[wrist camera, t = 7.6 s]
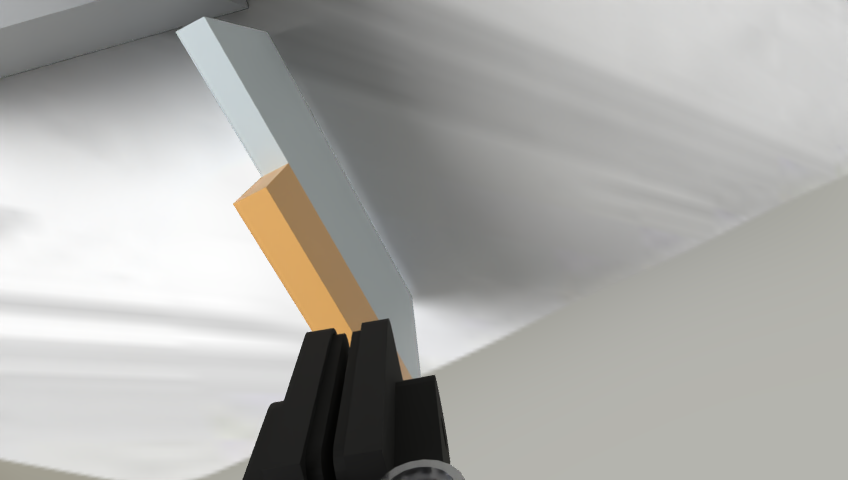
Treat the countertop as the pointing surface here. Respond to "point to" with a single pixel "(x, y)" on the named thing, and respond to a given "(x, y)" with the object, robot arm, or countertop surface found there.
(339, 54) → the countertop surface
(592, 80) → the countertop surface
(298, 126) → the side door
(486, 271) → the countertop surface
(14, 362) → the countertop surface
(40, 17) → the camera case
